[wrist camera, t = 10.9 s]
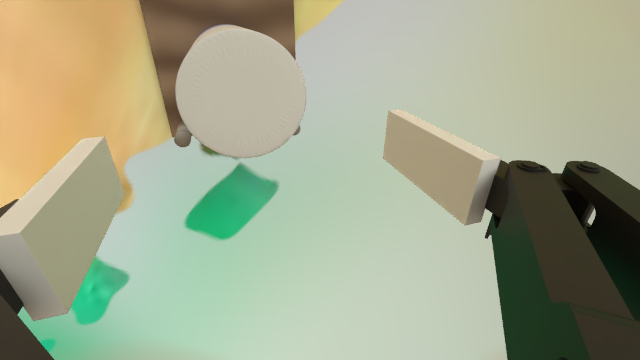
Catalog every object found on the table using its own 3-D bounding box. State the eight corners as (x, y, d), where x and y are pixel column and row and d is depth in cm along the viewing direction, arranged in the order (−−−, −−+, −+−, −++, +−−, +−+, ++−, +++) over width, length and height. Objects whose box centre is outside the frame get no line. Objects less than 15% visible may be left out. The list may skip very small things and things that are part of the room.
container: (240, 117, 44) (259, 178, 27) (174, 71, 39) (147, 112, 22) (282, 60, 42) (330, 89, 25) (219, 5, 37) (227, -6, 20)
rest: (138, -15, 35) (122, -22, 29) (290, -11, 40) (305, -16, 34) (173, 133, 44) (167, 153, 37) (295, 122, 48) (308, 138, 42)
